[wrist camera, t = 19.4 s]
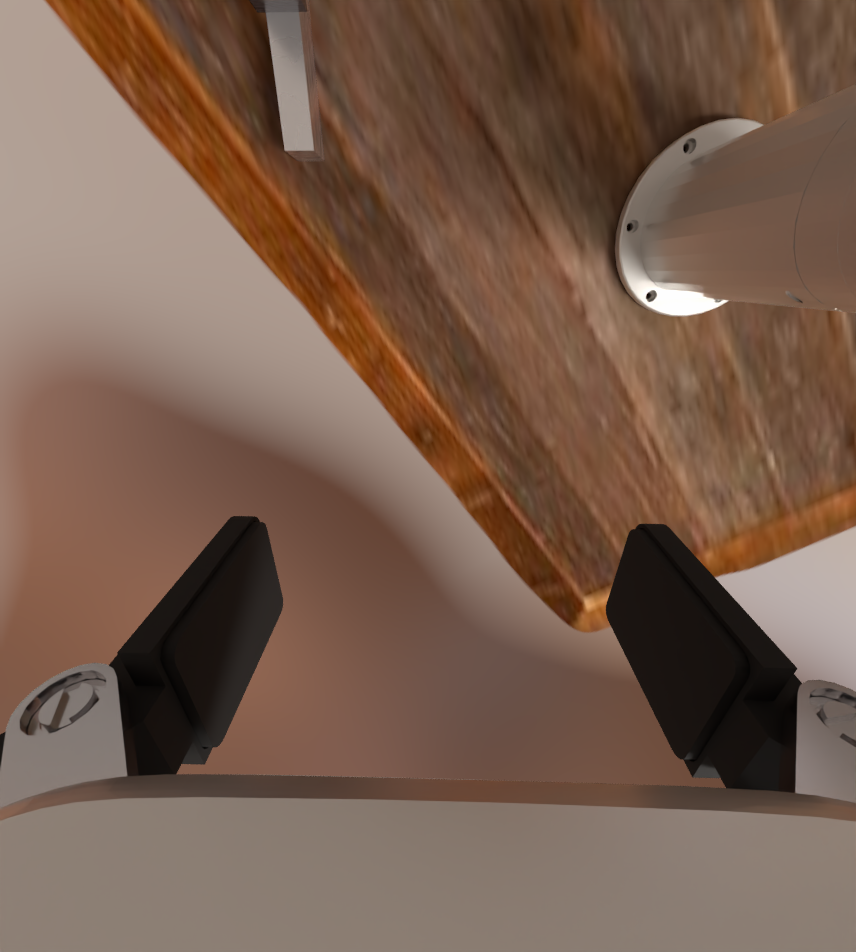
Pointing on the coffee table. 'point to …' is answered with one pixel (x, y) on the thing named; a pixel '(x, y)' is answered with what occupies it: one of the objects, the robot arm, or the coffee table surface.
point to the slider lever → (294, 76)
